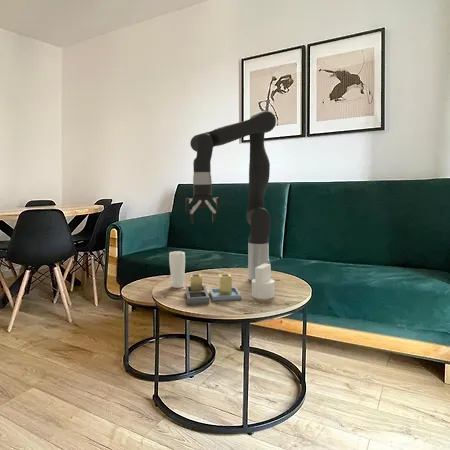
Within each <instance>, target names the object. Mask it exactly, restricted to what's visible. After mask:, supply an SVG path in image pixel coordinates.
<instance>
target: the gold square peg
mask: <svg viewBox="0 0 450 450" xmlns="http://www.w3.org/2000/svg"><path fill="white" fill-rule="evenodd" d="M217 277H218V288H219V295H220V296H224V295H232V286H233V284H232V280H233V278H232V275H231V273H224V272H223V273H218V275H217Z"/></svg>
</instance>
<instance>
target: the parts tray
mask: <svg viewBox="0 0 450 450" xmlns="http://www.w3.org/2000/svg"><path fill="white" fill-rule="evenodd" d="M209 296H210V297H211V301H212V302H223V301H224V302H225V301H228V302H229V301H241V300H242V294H241V293H240V291H239V289H238V288H237V287H236V286H233V287H232V295H224V296H220V295H219V287H215V288H209Z"/></svg>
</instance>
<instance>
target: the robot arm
mask: <svg viewBox="0 0 450 450" xmlns="http://www.w3.org/2000/svg"><path fill="white" fill-rule="evenodd" d="M276 124H277V118H276V116H275V114H274V113H273V112H272V111H268V110H262V111H258V112H255V113H253V114H251V116H250V118H249V119H245V120H243V121H239V122H235V123H230V124H227V125H224V126H221V127H218V128H215V129H213V130H210V131H205V132H202V133H197V134H196V135H194V136H193V137H191V138H190V139H191V140H190V141H189V142H190V143H189V145H190V148H191V149H192V150H193V151H194V152H196V156H195V158H194V160H193V163H192V164H193V165H192V166H193V175H192V183H193V186H192V189H193V191H192V192H193V194H192V195H193V197H192V198H189V197H186V198H185V213H186V214H189V221H190V222H191V223H192V224H194V223H195V216H194V215H195V214H194V212H195V211H196V210H197V209H207V208H208V209H209V210H210V212H212V214H211V221H212V222H211V223H212V224H213V223H215V222H216V221H217V213H219V212H221V202H220V201H221V200H220V198H219V197H217V196H216V197H213V196H212V195H213V189H212V188H213V187H212V186H213V185H212V183H213V181H212V173H211V172H212V171H211V170H212V169H211V168H212V167H211V165H212V164H211V161H212V157H213V156H212V155H213V150H214V148H215V147H219V146H223V145H226V144H229V143H231V142H235V141H238V140H239V139H242V138H245V137H247V136H249V163H248V201H247V207H246V208H247V209H246V221H247V222H248V224H249V225H250V232H249V233H250V234H249V236H248V238H247V239H248V241H247V242H248V245H247V247H248V251H247V253H248V254H247V255H248V262H247V263H248V265H247V266H248V276H247V277H248V281H250V282H252V280H253V279H255V268H256V267H258V266H260V265H262V264H264V263H265V264H271V260H270V259H269V258H270V257H269V255H270V254H269V252H270V251H269V249H270V248H269V240H270V238H271V237H270V235H271V225H272V224H271V222H272V221H271V214H270V211H268V210H267V209H266V208H265V194H266V190H267V188H268V184H269V181H270V180H269V179H270V172H271V171H270V170H271V168H270V166H271V165H270V164H271V162H270V160H269V159H270V158H269V156H268V154H267V151H266V148H265V134H267V133H270V132H271V131H272V130H273V129H274V128H275V126H276ZM213 201H214V203H215V205H216V206H215V207H216V209H215V208H214V207H213V206H212V203H213ZM191 203H193V204H194V205H193V206H192V208H191V209H190V204H191Z"/></svg>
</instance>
